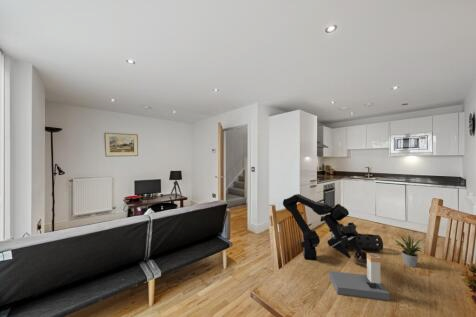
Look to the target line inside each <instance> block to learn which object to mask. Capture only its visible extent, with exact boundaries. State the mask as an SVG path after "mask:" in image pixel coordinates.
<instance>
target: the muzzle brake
mask: <svg viewBox="0 0 476 317" xmlns="http://www.w3.org/2000/svg"><path fill="white" fill-rule="evenodd" d="M358 234H359V235H357V236H358V239H357V241H358V244H359V247H360V250H364V251H373V250H374V251H375V252H380V251H383V248H384V242H383V238H382V237H381V236H380V235H379V234H370V233H369V234H367V233H358ZM332 237H335V236H334V234H333V233H332V232H330V239H331V238H332ZM342 241H344V246H345V248H346V250H347V249H350V248H351V249H354V248H353V247H352V246H351V245H350V244H349V243H348V242H347V241H349V240H346V239H345V240H342ZM342 241H341V242H342Z"/></svg>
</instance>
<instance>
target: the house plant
mask: <svg viewBox="0 0 476 317" xmlns="http://www.w3.org/2000/svg"><path fill="white" fill-rule="evenodd" d="M397 236H399V237H400V239H401V241H402V243H401V242H400V241H398V240H397V239H394V238H392V240H393V241H395V242H396V243H395V244H394V246H400V247H401V248H402V249H403V250H401V257H402V261H403V262H402V263H403V264H404V265H406V266H407V267H410V268H417V264H418V259H419V255H418V253H416V252H420V253H422V248H421V247H418V246H420V244H421V242H423V241H426V239H419V238H416V239H415V240H414V238H411V235H410V234H408V238H406V237H405V236H402V235H399V234H397ZM414 243H415V244H414Z"/></svg>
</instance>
